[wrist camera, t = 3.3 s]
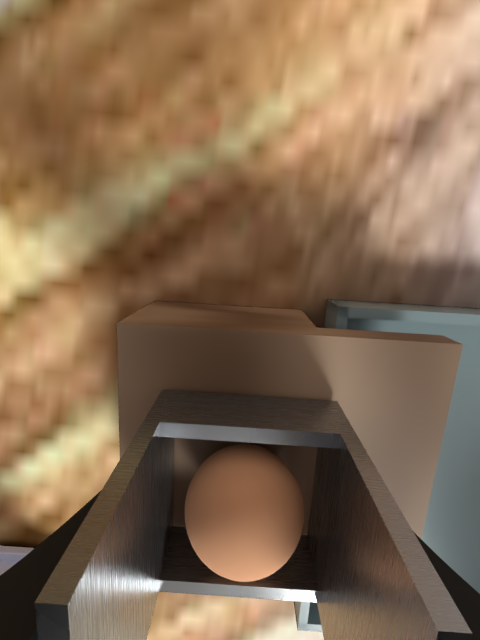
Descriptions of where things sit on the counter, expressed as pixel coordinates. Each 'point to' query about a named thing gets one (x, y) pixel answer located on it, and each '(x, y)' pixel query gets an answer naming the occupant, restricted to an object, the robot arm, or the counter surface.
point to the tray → (458, 440)
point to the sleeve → (285, 584)
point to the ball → (244, 512)
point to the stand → (294, 387)
